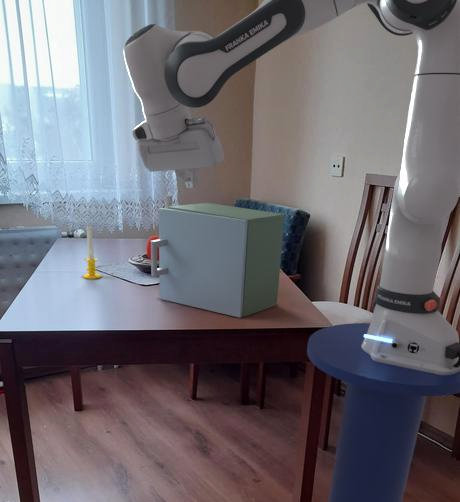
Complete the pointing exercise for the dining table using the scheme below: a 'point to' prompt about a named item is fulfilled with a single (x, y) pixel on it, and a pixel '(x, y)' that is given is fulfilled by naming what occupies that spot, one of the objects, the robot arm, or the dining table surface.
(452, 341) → the robot arm
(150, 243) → the tomato
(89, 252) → the candle
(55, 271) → the dining table surface
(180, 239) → the cupboard door
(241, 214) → the cupboard
